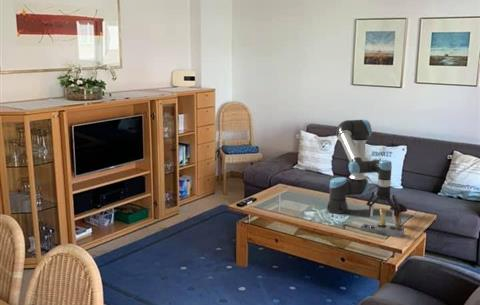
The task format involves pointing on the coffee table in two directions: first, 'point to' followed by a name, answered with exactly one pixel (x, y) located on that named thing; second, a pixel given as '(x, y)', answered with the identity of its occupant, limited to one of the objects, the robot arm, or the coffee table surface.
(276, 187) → the coffee table surface
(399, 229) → the riveted socket bracket
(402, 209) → the decorative mushroom
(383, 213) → the brass pin
